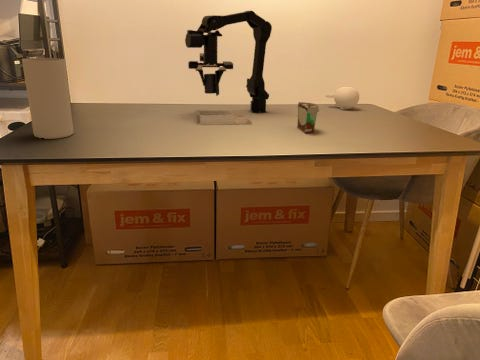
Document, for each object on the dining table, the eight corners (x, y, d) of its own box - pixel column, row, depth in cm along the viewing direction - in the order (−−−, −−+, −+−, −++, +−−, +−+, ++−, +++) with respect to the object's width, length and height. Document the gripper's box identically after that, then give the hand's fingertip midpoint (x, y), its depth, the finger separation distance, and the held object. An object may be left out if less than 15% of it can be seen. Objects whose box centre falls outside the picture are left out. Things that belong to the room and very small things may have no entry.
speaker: (223, 94, 174) (223, 70, 171) (216, 96, 169) (216, 70, 166) (208, 93, 178) (208, 69, 174) (201, 94, 173) (201, 70, 169)
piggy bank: (359, 113, 198) (338, 110, 210) (366, 90, 196) (345, 88, 209) (342, 107, 191) (321, 105, 204) (349, 83, 190) (328, 82, 202)
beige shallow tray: (247, 117, 173) (247, 109, 172) (252, 124, 161) (252, 115, 160) (196, 118, 170) (196, 110, 168) (197, 124, 158) (197, 115, 157)
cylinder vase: (50, 141, 129) (38, 61, 120) (25, 136, 135) (13, 59, 126) (81, 134, 139) (73, 59, 130) (57, 129, 145) (48, 57, 136)
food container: (321, 134, 148) (324, 107, 145) (305, 134, 147) (308, 107, 144) (310, 126, 160) (313, 101, 156) (296, 127, 159) (298, 101, 155)
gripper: (230, 47, 175) (229, 83, 181) (187, 46, 172) (188, 83, 178) (233, 48, 165) (233, 86, 170) (188, 47, 162) (189, 86, 168)
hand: (210, 85), depth 172 cm, fingers closed on speaker, 5 cm apart
